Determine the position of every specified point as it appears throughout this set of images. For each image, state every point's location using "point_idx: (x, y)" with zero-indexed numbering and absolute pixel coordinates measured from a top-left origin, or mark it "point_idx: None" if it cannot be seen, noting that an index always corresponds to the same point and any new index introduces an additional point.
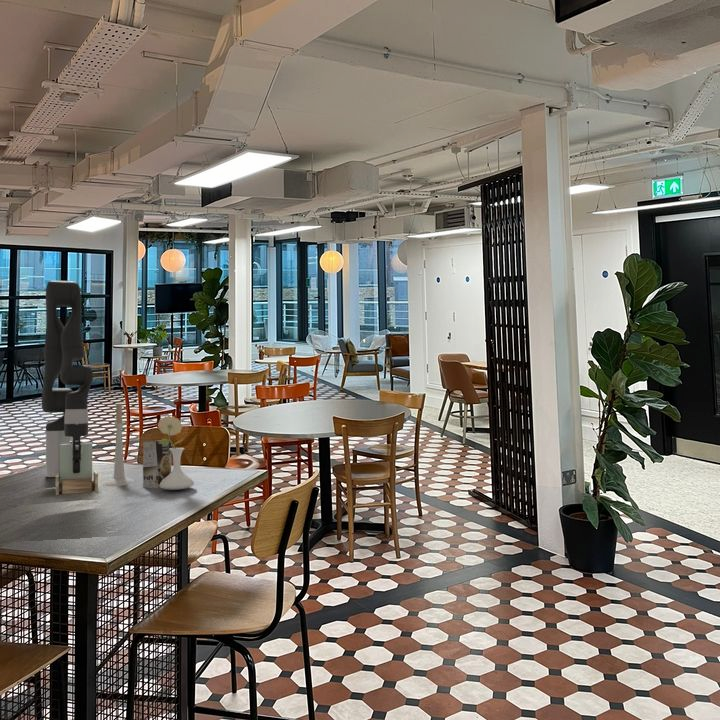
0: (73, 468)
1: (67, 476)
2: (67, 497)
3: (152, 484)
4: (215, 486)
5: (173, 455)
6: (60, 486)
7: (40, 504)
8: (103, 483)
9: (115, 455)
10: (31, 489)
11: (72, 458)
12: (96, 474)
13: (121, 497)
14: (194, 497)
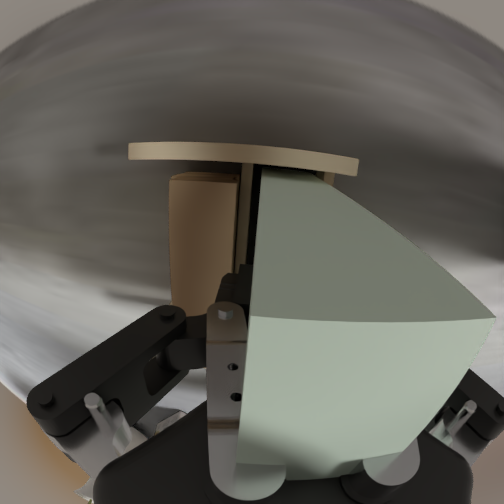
0: (236, 279)
1: (257, 221)
2: (73, 188)
3: (162, 425)
4: None
5: (87, 483)
6: (243, 169)
7: (3, 118)
8: None
9: None
10: (454, 90)
11: (160, 315)
12: None
13: (32, 320)
14: (24, 390)
